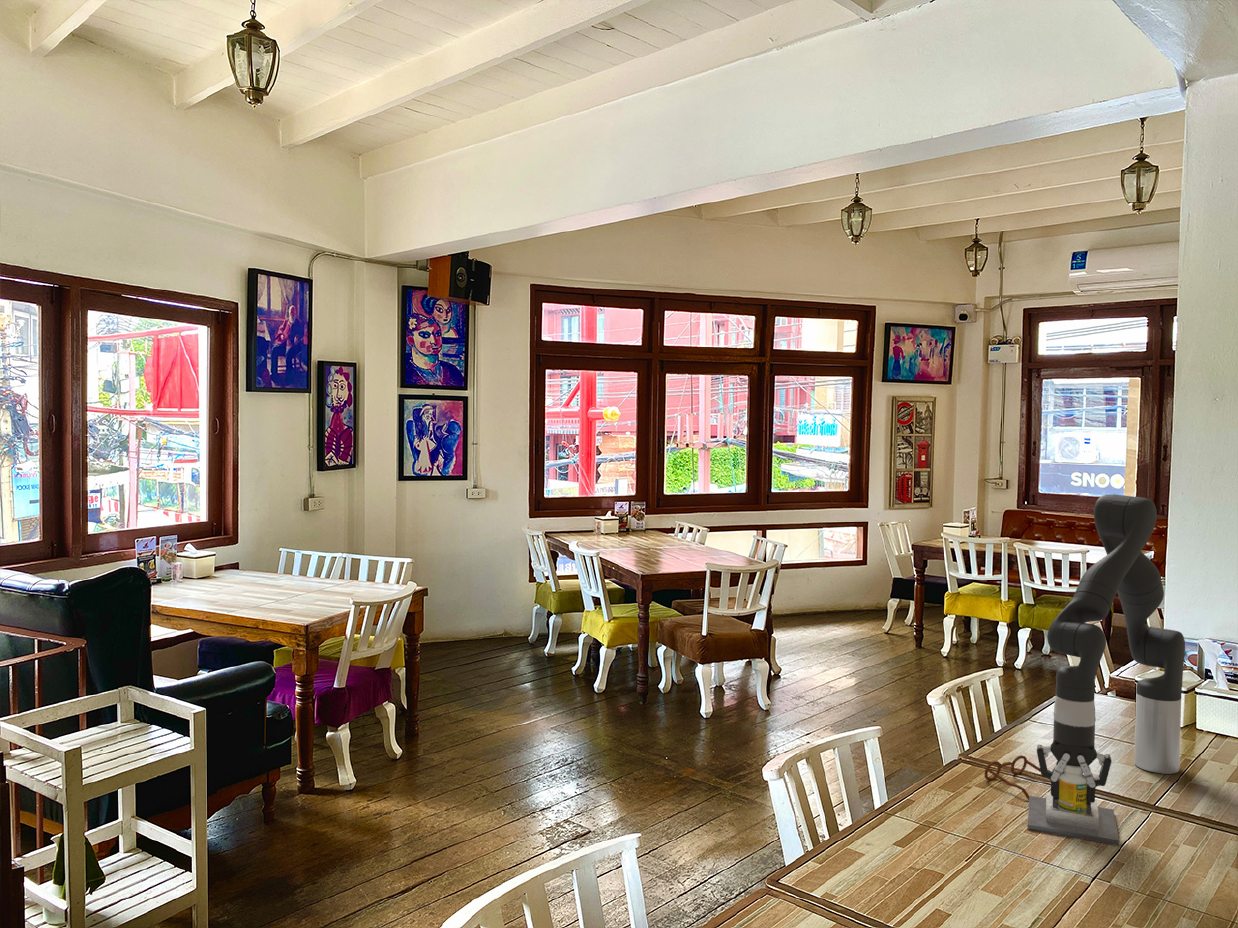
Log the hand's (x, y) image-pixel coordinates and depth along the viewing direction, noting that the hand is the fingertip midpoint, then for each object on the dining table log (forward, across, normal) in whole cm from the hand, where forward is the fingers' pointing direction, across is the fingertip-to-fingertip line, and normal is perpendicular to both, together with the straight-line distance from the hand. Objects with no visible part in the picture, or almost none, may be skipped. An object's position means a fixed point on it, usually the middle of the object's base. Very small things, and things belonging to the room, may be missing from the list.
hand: (1072, 800), depth 184 cm
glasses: (+5, +9, -16) cm, 19 cm away
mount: (+4, 0, 0) cm, 4 cm away
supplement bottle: (+2, 0, 0) cm, 2 cm away
